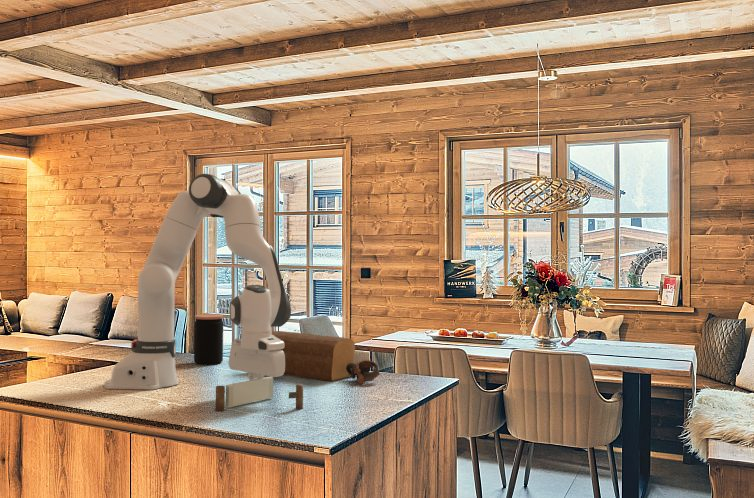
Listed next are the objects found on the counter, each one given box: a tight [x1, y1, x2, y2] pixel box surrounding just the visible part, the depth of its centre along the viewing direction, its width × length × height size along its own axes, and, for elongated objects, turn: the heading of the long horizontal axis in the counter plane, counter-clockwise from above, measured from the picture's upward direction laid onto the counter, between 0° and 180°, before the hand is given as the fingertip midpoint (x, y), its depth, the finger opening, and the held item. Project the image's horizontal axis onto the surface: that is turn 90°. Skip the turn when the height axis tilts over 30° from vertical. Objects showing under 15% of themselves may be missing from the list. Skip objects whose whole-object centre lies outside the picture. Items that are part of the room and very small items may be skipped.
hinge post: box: [214, 385, 226, 412], centre depth 191 cm, size 2×2×6 cm
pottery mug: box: [346, 359, 381, 385], centre depth 235 cm, size 12×10×8 cm
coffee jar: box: [193, 313, 224, 366], centre depth 266 cm, size 11×11×18 cm
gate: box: [225, 376, 274, 408], centre depth 200 cm, size 17×1×6 cm, turn 143°
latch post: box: [288, 383, 304, 410], centre depth 195 cm, size 4×3×6 cm, turn 100°
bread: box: [272, 330, 356, 382], centre depth 248 cm, size 14×34×14 cm, turn 58°
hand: (255, 388), depth 206 cm, fingers closed
